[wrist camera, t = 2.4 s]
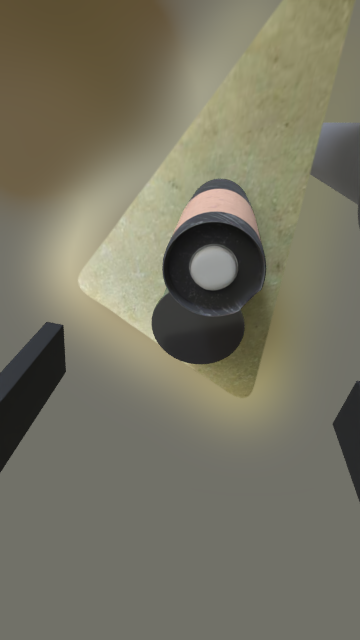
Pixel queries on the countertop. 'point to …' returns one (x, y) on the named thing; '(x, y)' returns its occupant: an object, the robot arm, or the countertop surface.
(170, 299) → the jar
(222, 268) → the travel mug
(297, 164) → the countertop surface
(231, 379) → the countertop surface
